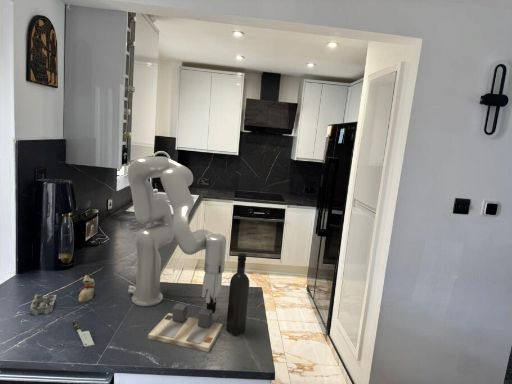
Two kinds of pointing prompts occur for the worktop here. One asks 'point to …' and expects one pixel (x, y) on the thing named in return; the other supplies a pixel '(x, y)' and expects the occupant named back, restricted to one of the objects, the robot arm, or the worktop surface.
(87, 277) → the cream animal figurine
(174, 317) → the dark grey block
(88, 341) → the cleaver
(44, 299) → the egg carton
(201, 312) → the right tab
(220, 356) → the worktop surface
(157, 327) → the switch panel
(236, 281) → the wine bottle
